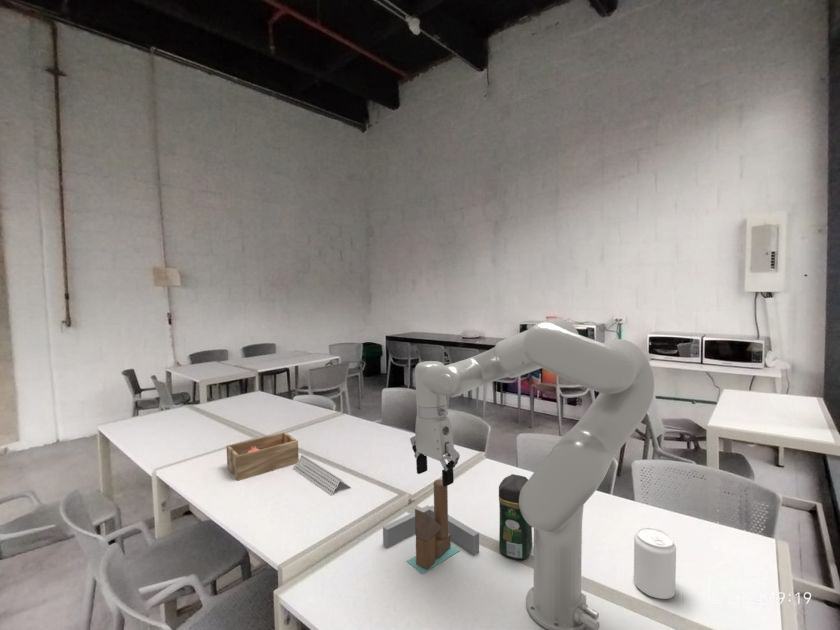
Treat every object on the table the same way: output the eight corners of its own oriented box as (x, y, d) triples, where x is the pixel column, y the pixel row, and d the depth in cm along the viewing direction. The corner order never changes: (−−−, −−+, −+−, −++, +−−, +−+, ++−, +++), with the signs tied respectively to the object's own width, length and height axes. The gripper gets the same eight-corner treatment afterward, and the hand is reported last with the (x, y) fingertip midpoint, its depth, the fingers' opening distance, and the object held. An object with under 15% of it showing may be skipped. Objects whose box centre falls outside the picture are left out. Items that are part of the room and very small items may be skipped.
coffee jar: (505, 534, 111) (505, 469, 110) (534, 542, 107) (534, 475, 106) (495, 555, 102) (494, 484, 101) (526, 564, 99) (526, 491, 98)
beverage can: (660, 574, 95) (661, 525, 94) (683, 600, 86) (685, 547, 86) (626, 575, 94) (627, 526, 94) (647, 602, 86) (648, 548, 85)
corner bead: (352, 489, 139) (352, 475, 139) (329, 498, 133) (329, 483, 133) (312, 463, 161) (311, 451, 161) (291, 470, 155) (290, 458, 154)
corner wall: (479, 551, 104) (478, 533, 104) (430, 583, 93) (429, 562, 93) (430, 520, 118) (430, 504, 118) (383, 544, 107) (382, 526, 107)
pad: (460, 550, 104) (459, 550, 104) (422, 574, 96) (422, 573, 96) (444, 540, 109) (444, 539, 109) (406, 561, 100) (406, 560, 100)
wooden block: (415, 564, 99) (414, 494, 98) (439, 542, 108) (438, 477, 107) (427, 570, 97) (426, 498, 96) (451, 547, 105) (450, 480, 104)
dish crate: (298, 462, 160) (297, 440, 160) (238, 480, 146) (237, 456, 145) (285, 452, 171) (284, 431, 171) (227, 468, 156) (226, 445, 156)
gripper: (467, 414, 96) (470, 484, 97) (421, 402, 109) (423, 463, 110) (444, 421, 91) (447, 495, 92) (399, 408, 104) (402, 472, 105)
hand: (434, 478), depth 101 cm, fingers open, 9 cm apart
